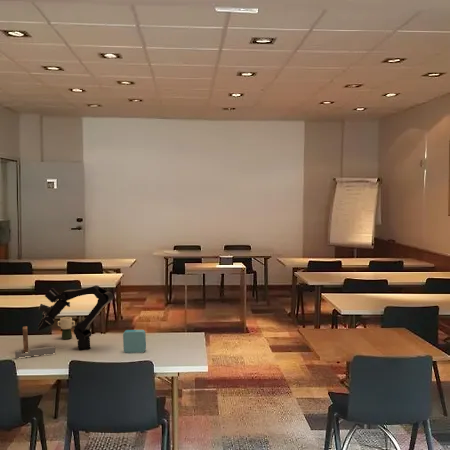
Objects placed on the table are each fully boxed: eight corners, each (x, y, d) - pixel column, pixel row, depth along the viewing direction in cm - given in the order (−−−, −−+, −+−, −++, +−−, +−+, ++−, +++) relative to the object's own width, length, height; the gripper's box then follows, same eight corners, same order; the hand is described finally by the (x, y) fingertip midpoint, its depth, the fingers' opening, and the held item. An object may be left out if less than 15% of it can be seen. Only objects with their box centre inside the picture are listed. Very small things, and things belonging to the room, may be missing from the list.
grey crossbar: (55, 353, 307) (54, 346, 307) (55, 354, 305) (55, 347, 305) (15, 357, 300) (15, 350, 300) (15, 359, 298) (15, 352, 298)
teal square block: (146, 350, 309) (145, 329, 308) (144, 352, 304) (144, 331, 303) (125, 350, 309) (124, 329, 308) (123, 353, 304) (122, 331, 304)
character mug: (77, 337, 342) (76, 316, 342) (73, 340, 335) (72, 319, 334) (60, 337, 343) (59, 317, 342) (56, 340, 336) (55, 319, 335)
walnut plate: (28, 349, 316) (27, 326, 315) (28, 353, 309) (27, 328, 308) (23, 350, 315) (22, 326, 314) (23, 353, 308) (22, 329, 308)
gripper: (46, 296, 324) (27, 316, 320) (47, 301, 306) (27, 323, 303) (60, 308, 327) (42, 328, 324) (62, 314, 309) (42, 335, 306)
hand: (38, 328), depth 314 cm, fingers open, 9 cm apart
